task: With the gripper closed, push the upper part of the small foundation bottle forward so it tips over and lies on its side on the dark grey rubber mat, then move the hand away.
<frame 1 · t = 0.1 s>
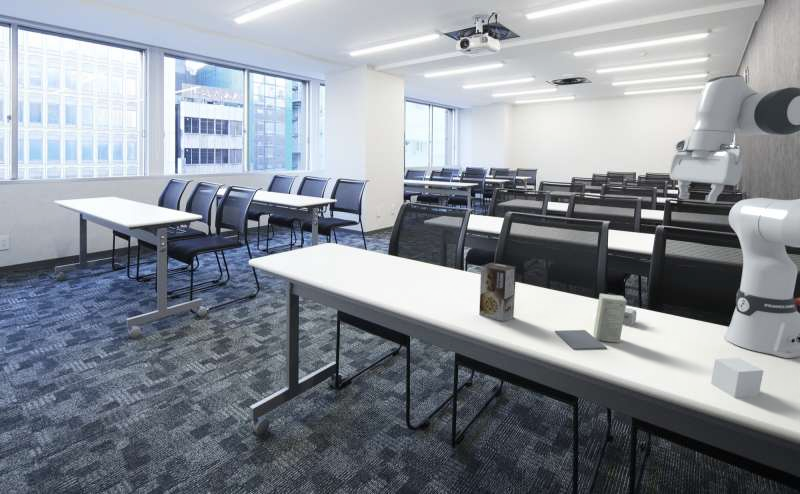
hand: (696, 200, 114), 39 cm above the table, tool pointing down, fingers open, 8 cm apart
skincare box: (605, 339, 125), on the table, touching rubber mat
light grey cube: (734, 390, 99), on the table
usb wall charger: (627, 322, 139), on the table
coffee box: (496, 316, 143), on the table
rubber mat: (579, 340, 125), on the table
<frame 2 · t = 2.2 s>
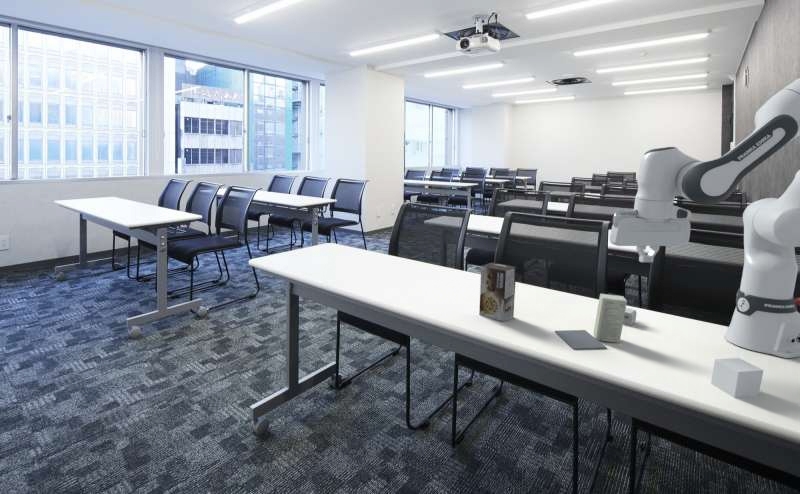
hand: (645, 261, 122), 22 cm above the table, tool pointing down, fingers closed
nothing on the table moved.
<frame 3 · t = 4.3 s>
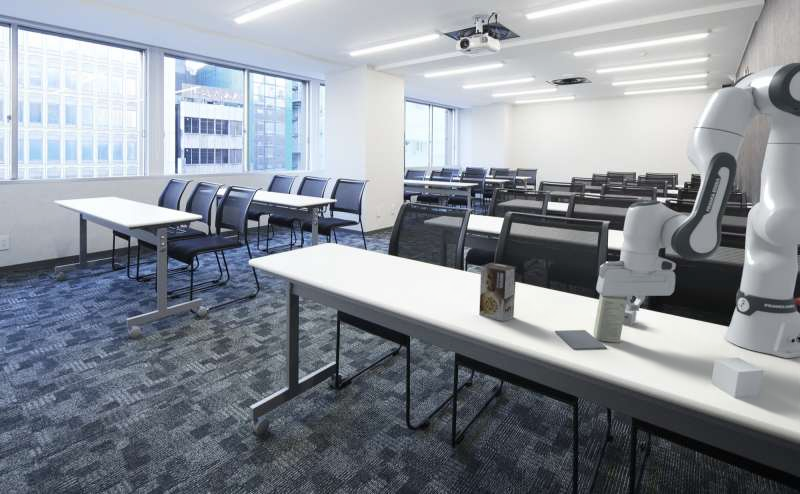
hand: (632, 310, 124), 8 cm above the table, tool pointing down, fingers closed
skincare box: (605, 339, 125), on the table, touching gripper, rubber mat
everything else where it was.
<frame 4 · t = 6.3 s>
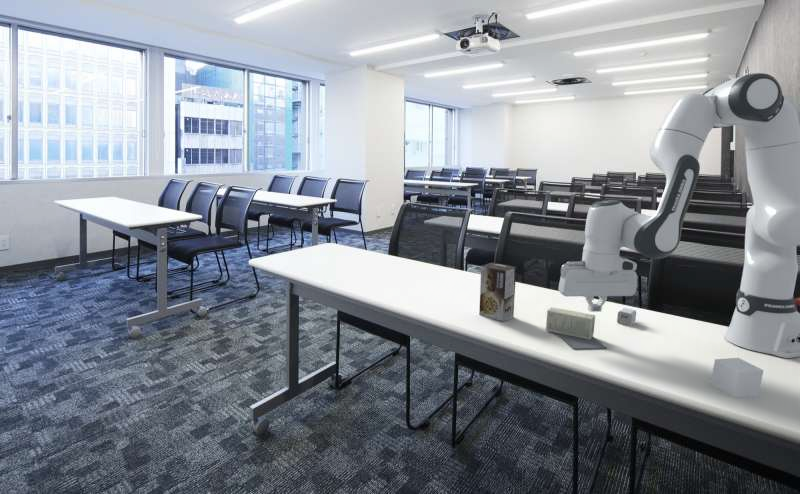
hand: (594, 311, 123), 8 cm above the table, tool pointing down, fingers closed
skincare box: (593, 328, 124), point 3 cm above the table, touching rubber mat
everything else where it was.
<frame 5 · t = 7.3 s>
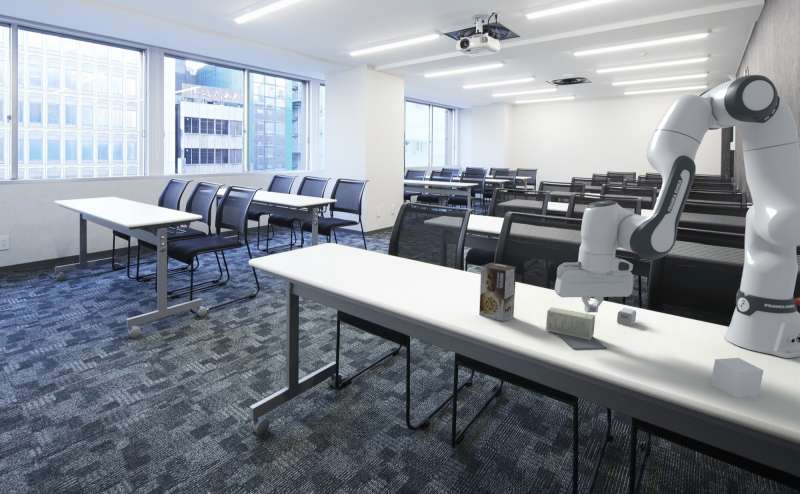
hand: (590, 311, 123), 8 cm above the table, tool pointing down, fingers closed
nothing on the table moved.
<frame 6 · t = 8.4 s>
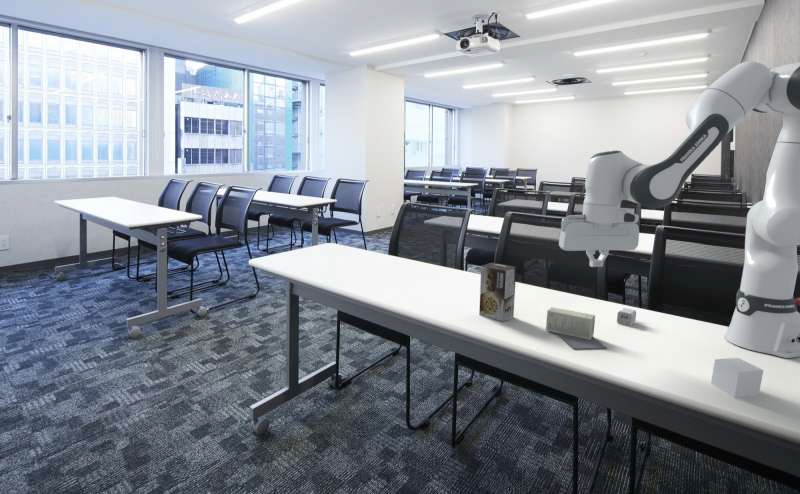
hand: (596, 266, 121), 21 cm above the table, tool pointing down, fingers closed
nothing on the table moved.
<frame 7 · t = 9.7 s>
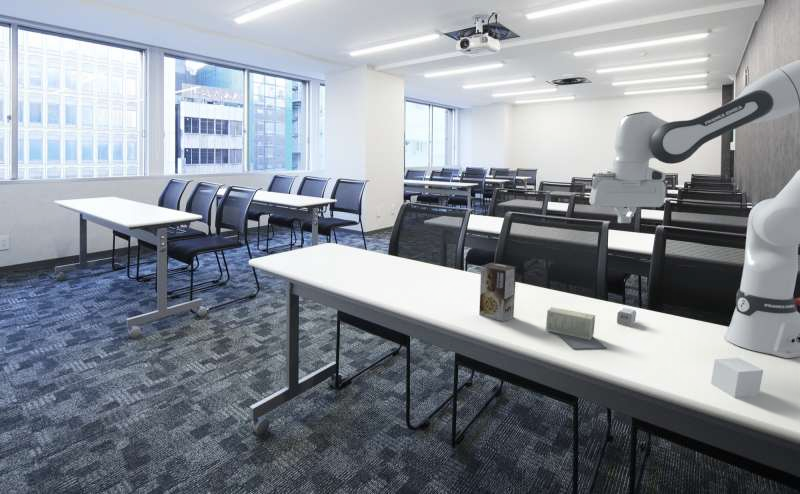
hand: (623, 222, 128), 31 cm above the table, tool pointing down, fingers closed
nothing on the table moved.
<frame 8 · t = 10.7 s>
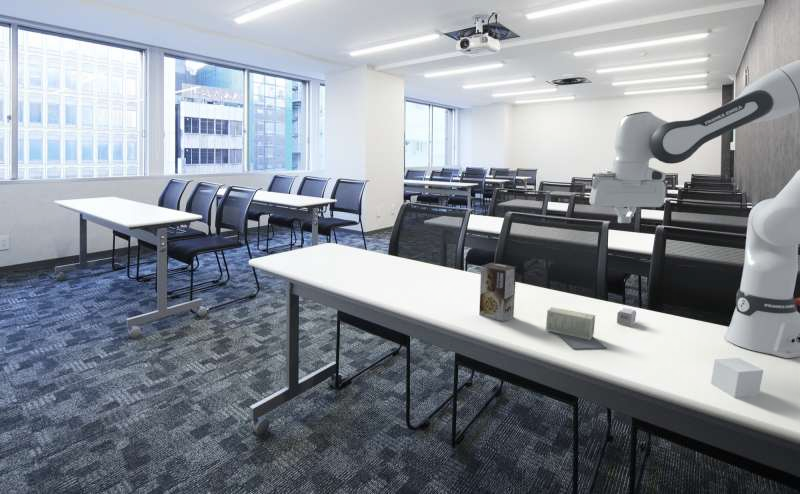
hand: (623, 222, 128), 31 cm above the table, tool pointing down, fingers closed
nothing on the table moved.
at the end: skincare box tilted 89°; skincare box inside the target area (0.7 cm from its centre), point 3.3 cm above the table; skincare box touching rubber mat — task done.
